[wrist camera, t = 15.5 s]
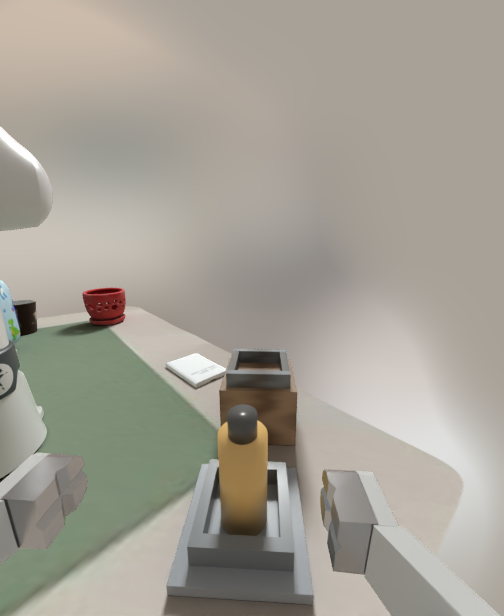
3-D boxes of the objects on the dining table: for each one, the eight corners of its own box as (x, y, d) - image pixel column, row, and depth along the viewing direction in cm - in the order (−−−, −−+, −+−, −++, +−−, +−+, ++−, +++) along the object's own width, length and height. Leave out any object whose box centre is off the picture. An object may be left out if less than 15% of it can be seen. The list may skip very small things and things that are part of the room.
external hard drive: (197, 358, 62) (229, 375, 53) (166, 369, 56) (196, 390, 48) (197, 352, 62) (228, 368, 53) (165, 362, 56) (195, 382, 47)
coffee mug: (18, 329, 84) (11, 300, 82) (47, 327, 86) (41, 299, 84) (-10, 341, 73) (-18, 308, 71) (24, 339, 75) (17, 307, 73)
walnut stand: (221, 443, 34) (218, 376, 32) (231, 399, 44) (229, 346, 41) (295, 445, 34) (297, 377, 31) (288, 401, 43) (290, 347, 41)
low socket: (167, 595, 19) (164, 566, 18) (202, 470, 30) (201, 449, 29) (312, 604, 18) (314, 575, 18) (295, 474, 29) (296, 453, 28)
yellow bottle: (217, 538, 22) (211, 430, 19) (224, 491, 26) (221, 398, 24) (267, 541, 22) (268, 432, 19) (266, 493, 26) (267, 399, 23)
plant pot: (80, 323, 90) (75, 291, 88) (116, 315, 101) (112, 286, 98) (98, 329, 83) (93, 294, 81) (135, 320, 94) (131, 289, 91)
